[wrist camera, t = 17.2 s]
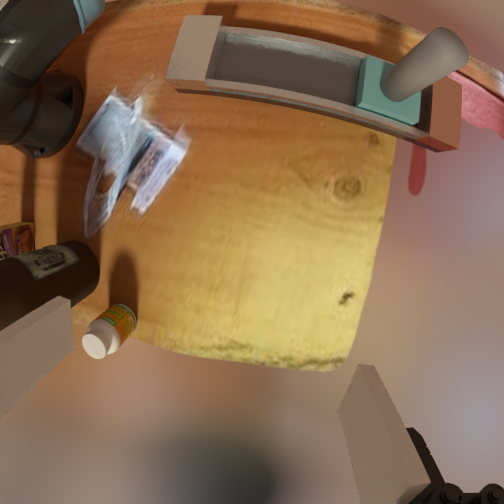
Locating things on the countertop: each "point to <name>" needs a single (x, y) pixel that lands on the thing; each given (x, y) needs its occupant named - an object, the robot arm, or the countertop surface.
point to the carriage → (409, 76)
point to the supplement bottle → (109, 331)
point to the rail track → (300, 78)
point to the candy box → (16, 239)
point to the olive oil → (45, 279)
